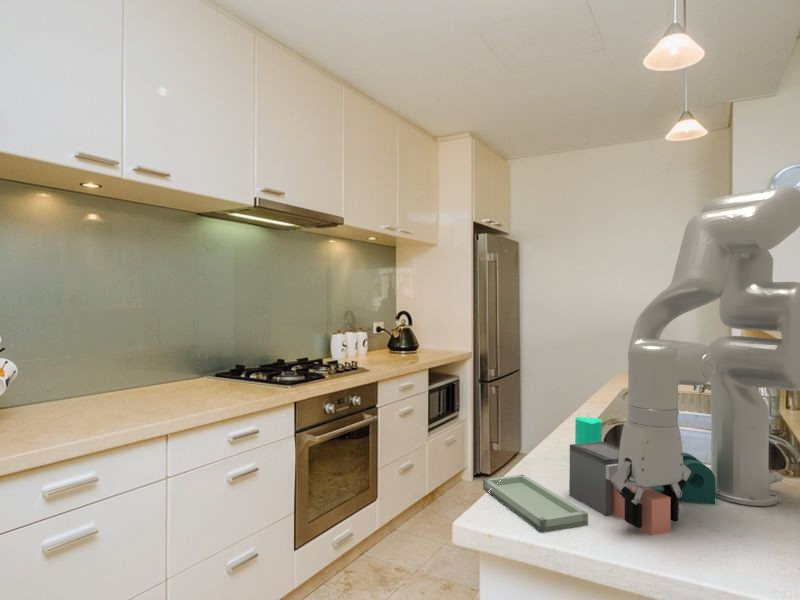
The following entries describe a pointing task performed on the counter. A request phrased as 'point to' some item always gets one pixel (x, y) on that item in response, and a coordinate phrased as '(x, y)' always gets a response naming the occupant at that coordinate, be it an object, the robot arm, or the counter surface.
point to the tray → (535, 503)
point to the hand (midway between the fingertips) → (651, 520)
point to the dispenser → (593, 474)
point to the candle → (588, 430)
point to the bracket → (696, 483)
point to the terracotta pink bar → (647, 510)
